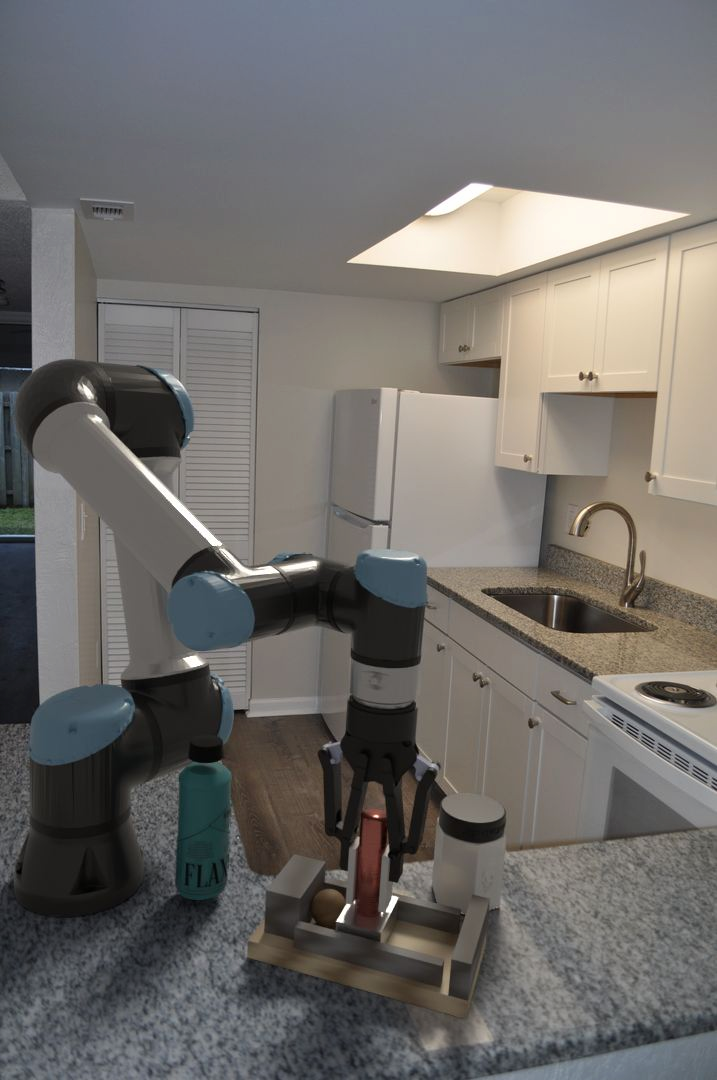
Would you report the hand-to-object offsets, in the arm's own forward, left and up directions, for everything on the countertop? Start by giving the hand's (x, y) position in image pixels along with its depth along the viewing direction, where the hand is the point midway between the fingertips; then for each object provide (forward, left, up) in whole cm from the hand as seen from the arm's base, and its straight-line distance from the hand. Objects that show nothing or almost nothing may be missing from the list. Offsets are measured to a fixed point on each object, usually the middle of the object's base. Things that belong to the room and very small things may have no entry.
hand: (368, 901), depth 89 cm
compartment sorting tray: (0, 0, -6) cm, 6 cm away
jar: (+8, +15, -6) cm, 18 cm away
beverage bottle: (-22, +2, -6) cm, 23 cm away
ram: (0, 0, -4) cm, 4 cm away
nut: (-4, 0, -4) cm, 6 cm away
